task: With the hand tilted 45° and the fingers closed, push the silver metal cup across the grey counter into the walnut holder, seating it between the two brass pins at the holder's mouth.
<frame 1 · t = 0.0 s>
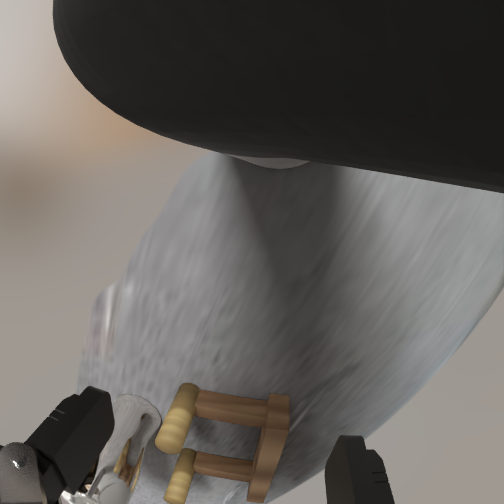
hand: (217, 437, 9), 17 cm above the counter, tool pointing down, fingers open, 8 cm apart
silver metal cup: (138, 411, 32), on the counter
holder: (219, 432, 31), on the counter
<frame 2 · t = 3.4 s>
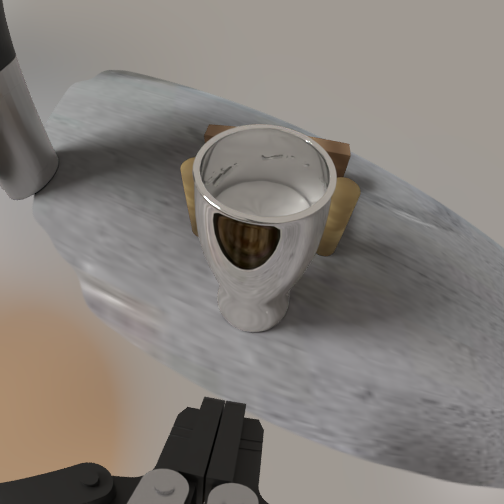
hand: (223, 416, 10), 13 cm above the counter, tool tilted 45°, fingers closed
silver metal cup: (253, 299, 26), on the counter
holder: (268, 208, 32), on the counter
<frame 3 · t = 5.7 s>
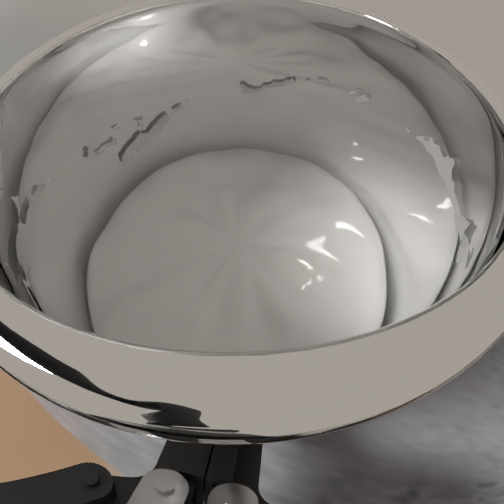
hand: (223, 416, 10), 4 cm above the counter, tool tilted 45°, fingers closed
silver metal cup: (240, 362, 15), on the counter, touching gripper
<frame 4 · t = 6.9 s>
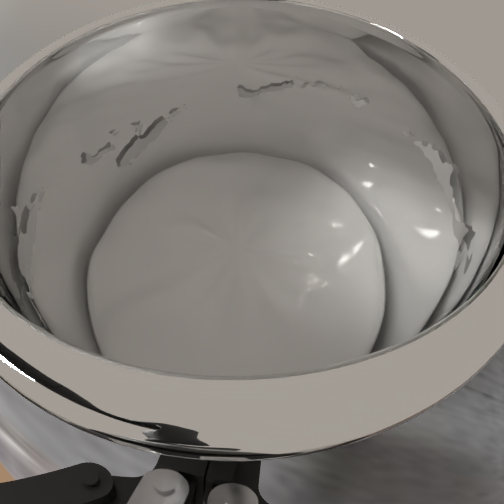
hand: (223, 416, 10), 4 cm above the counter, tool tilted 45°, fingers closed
silver metal cup: (238, 363, 16), on the counter, touching gripper
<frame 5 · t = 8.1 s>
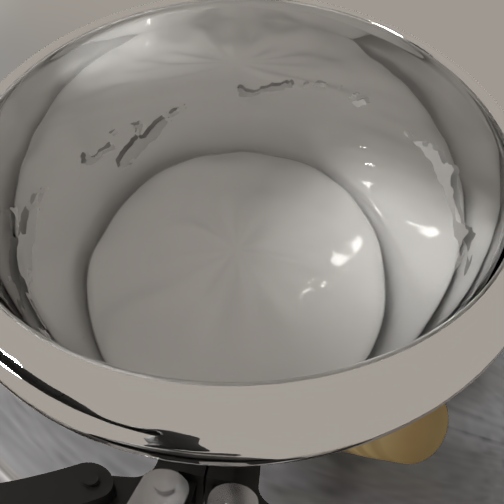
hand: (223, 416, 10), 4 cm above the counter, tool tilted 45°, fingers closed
silver metal cup: (238, 363, 16), on the counter, touching gripper
holder: (234, 351, 16), on the counter
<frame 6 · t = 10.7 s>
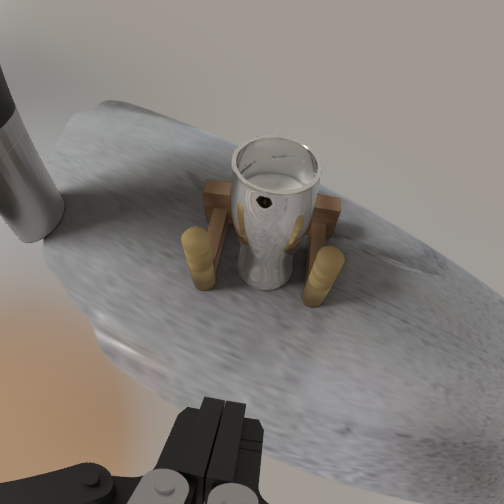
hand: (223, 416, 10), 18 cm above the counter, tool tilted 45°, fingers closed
silver metal cup: (265, 266, 34), on the counter
holder: (263, 261, 34), on the counter
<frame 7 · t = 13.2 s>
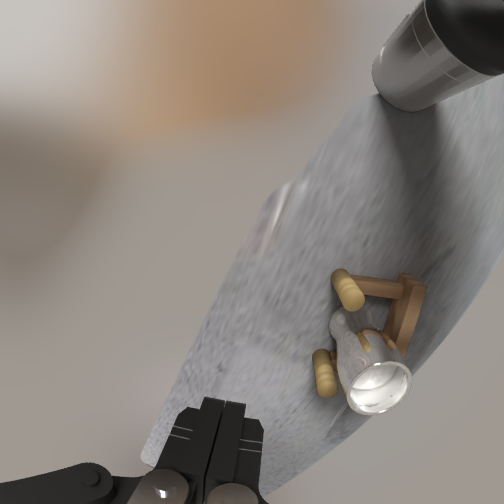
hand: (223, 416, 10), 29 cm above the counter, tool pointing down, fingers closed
silver metal cup: (350, 322, 40), on the counter
holder: (355, 322, 39), on the counter
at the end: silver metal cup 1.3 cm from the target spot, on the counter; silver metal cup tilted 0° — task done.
